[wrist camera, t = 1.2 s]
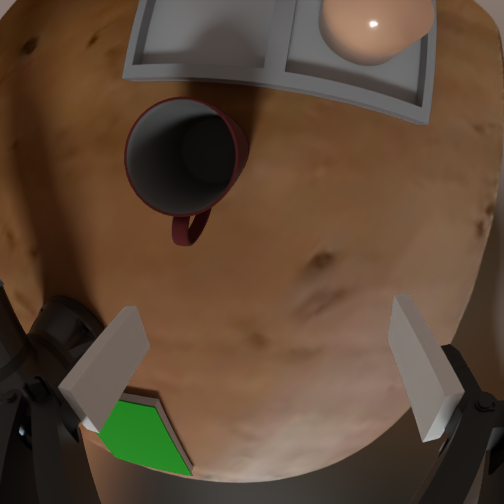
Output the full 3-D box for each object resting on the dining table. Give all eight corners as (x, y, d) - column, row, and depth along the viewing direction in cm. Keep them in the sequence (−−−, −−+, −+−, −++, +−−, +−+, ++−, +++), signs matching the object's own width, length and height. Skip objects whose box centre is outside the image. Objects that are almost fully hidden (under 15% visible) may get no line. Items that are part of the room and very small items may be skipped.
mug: (250, 222, 33) (232, 262, 22) (173, 214, 33) (127, 249, 23) (259, 111, 28) (243, 97, 18) (177, 109, 29) (126, 100, 19)
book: (160, 396, 47) (154, 407, 44) (195, 466, 57) (192, 476, 54) (70, 377, 50) (63, 385, 47) (117, 448, 60) (113, 456, 57)
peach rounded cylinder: (313, 54, 25) (322, 23, 16) (322, -12, 21) (331, -54, 13) (396, 76, 24) (433, 58, 16) (401, 10, 21) (432, -22, 12)
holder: (133, 81, 28) (121, 78, 25) (163, -39, 21) (155, -49, 18) (418, 124, 26) (429, 124, 23) (426, -5, 19) (435, -13, 17)
